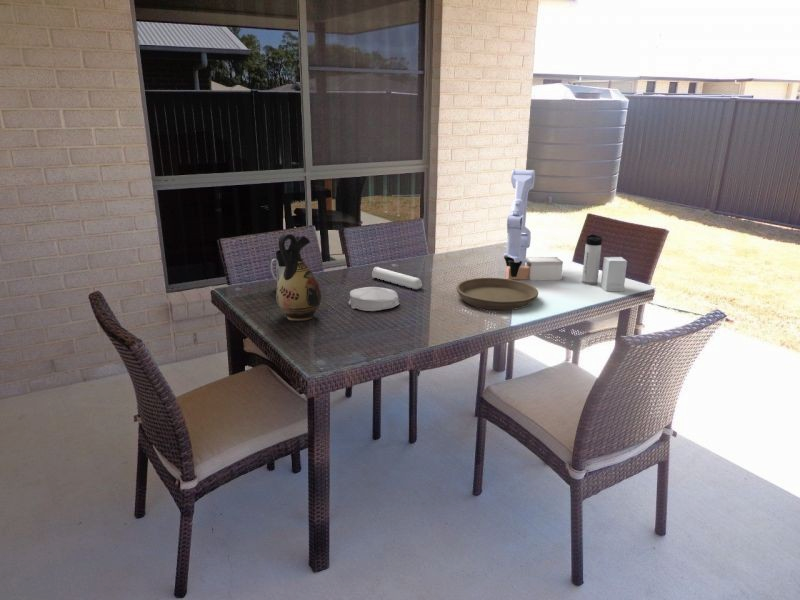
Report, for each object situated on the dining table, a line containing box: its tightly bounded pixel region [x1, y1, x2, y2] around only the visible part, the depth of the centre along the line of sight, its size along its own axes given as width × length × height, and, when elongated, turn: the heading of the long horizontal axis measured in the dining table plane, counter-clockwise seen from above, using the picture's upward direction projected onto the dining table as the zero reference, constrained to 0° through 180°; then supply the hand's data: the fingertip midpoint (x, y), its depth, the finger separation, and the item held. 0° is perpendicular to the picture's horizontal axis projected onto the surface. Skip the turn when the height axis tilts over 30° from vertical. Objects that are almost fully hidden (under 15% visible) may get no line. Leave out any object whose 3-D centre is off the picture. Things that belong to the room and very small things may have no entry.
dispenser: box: [524, 256, 564, 281], centre depth 261 cm, size 8×15×8 cm, turn 94°
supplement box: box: [600, 256, 628, 292], centre depth 245 cm, size 7×7×13 cm
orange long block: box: [505, 265, 530, 280], centre depth 261 cm, size 4×16×5 cm, turn 95°
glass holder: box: [270, 249, 291, 284], centre depth 241 cm, size 9×14×15 cm, turn 155°
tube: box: [371, 266, 423, 290], centre depth 251 cm, size 5×5×25 cm
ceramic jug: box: [275, 232, 322, 321], centre depth 207 cm, size 17×15×30 cm
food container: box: [347, 286, 400, 312], centre depth 226 cm, size 20×20×7 cm
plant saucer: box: [456, 277, 539, 311], centre depth 232 cm, size 31×31×5 cm
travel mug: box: [581, 234, 603, 286], centre depth 252 cm, size 6×7×20 cm
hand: (511, 274), depth 261 cm, fingers open, 6 cm apart
